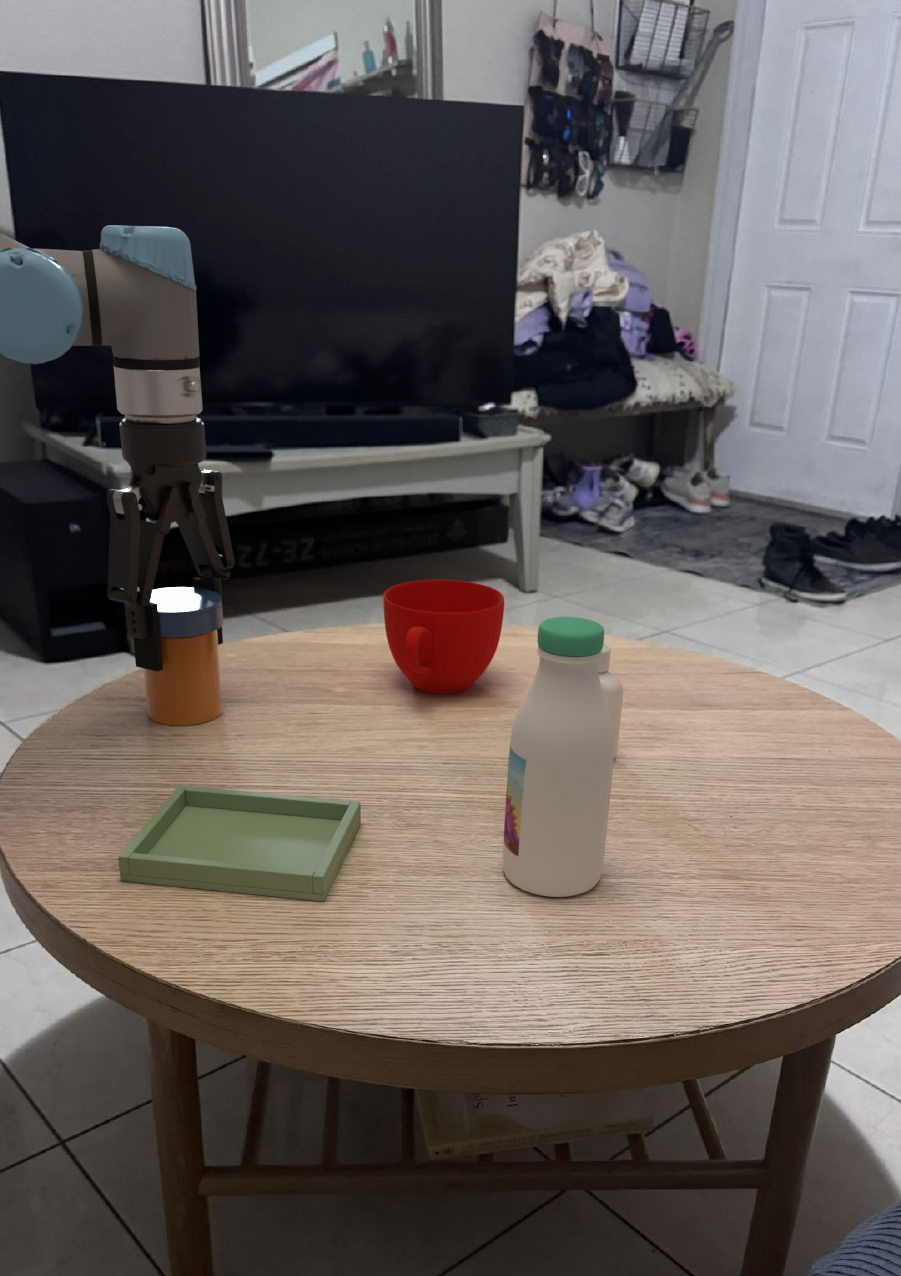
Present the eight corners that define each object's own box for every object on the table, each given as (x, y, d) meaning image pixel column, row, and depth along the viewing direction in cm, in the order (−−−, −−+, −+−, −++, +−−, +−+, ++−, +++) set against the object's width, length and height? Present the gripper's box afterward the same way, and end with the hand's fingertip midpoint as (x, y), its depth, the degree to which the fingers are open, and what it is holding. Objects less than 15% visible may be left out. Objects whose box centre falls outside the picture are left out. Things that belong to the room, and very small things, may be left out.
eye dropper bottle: (578, 767, 105) (589, 644, 99) (555, 744, 109) (564, 626, 104) (621, 763, 106) (634, 641, 101) (596, 740, 111) (607, 623, 105)
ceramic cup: (350, 707, 117) (349, 614, 112) (407, 658, 131) (408, 574, 127) (469, 725, 113) (473, 630, 109) (513, 673, 128) (518, 587, 123)
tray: (120, 880, 84) (117, 856, 83) (180, 807, 95) (178, 784, 94) (323, 901, 82) (323, 876, 81) (360, 824, 93) (360, 801, 92)
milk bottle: (617, 867, 88) (644, 620, 79) (575, 910, 82) (600, 649, 73) (529, 841, 91) (546, 602, 82) (483, 881, 85) (496, 628, 76)
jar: (136, 722, 111) (125, 613, 106) (164, 696, 118) (154, 592, 113) (208, 728, 110) (200, 618, 105) (231, 702, 117) (225, 597, 112)
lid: (184, 643, 105) (182, 617, 104) (112, 628, 108) (110, 603, 107) (241, 620, 112) (239, 595, 111) (172, 606, 115) (170, 582, 114)
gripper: (111, 434, 91) (137, 694, 101) (264, 408, 109) (274, 632, 119) (42, 426, 94) (74, 679, 104) (202, 402, 112) (216, 621, 122)
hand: (180, 654), depth 111 cm, fingers closed on lid, 9 cm apart
